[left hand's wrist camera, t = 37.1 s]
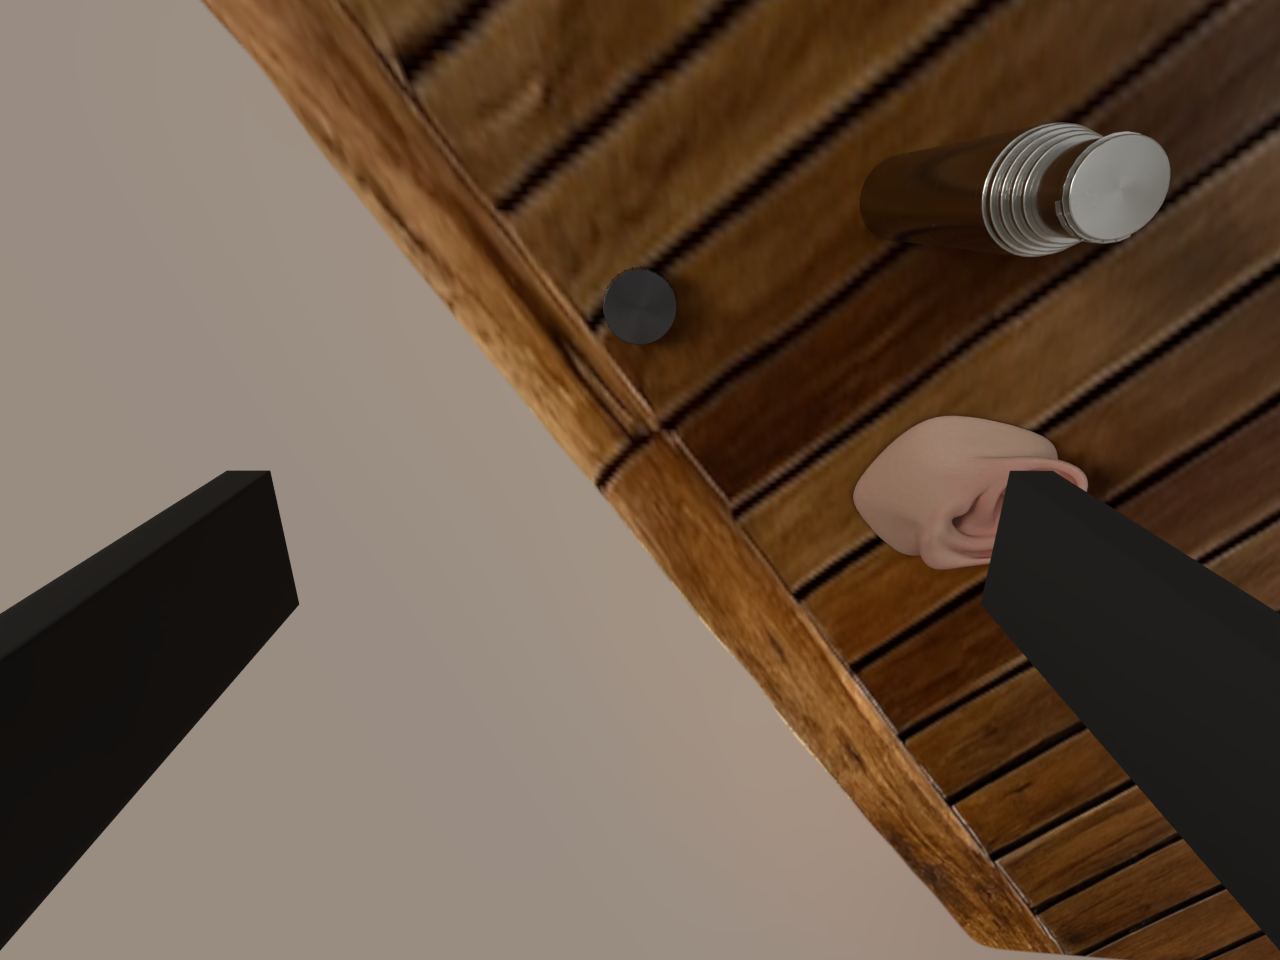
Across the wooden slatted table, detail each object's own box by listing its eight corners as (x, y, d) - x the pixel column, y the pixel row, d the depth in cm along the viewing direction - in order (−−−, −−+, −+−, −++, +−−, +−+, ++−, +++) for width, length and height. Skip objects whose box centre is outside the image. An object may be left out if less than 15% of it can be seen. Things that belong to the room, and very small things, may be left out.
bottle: (850, 173, 41) (1033, 142, 22) (930, 140, 40) (1190, 79, 21) (870, 252, 42) (1056, 287, 24) (947, 222, 42) (1202, 232, 23)
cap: (609, 345, 45) (608, 350, 43) (598, 272, 43) (596, 274, 41) (679, 335, 44) (681, 340, 43) (671, 261, 43) (672, 263, 41)
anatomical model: (847, 551, 45) (936, 397, 42) (832, 526, 49) (912, 381, 45) (1016, 614, 47) (1116, 471, 43) (989, 584, 51) (1079, 451, 47)
